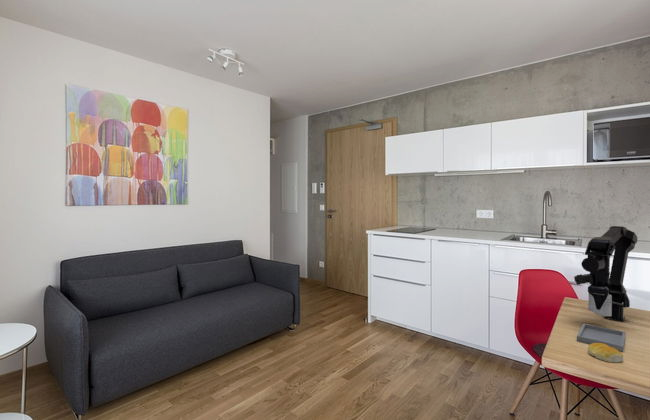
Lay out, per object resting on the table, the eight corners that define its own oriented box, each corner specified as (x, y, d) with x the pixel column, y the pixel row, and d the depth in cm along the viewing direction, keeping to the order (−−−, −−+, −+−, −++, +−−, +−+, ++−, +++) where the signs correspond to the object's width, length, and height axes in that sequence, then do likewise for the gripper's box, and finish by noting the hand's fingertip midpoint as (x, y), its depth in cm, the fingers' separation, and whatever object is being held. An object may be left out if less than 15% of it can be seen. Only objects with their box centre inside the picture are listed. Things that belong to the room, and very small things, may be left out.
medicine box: (611, 316, 131) (612, 295, 131) (599, 316, 132) (599, 294, 132) (599, 310, 139) (600, 290, 139) (587, 309, 140) (588, 289, 140)
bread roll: (604, 350, 113) (604, 339, 113) (628, 363, 104) (629, 351, 104) (580, 350, 113) (581, 339, 113) (603, 363, 104) (603, 351, 104)
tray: (583, 328, 133) (583, 323, 133) (625, 337, 124) (625, 332, 124) (576, 341, 120) (576, 335, 120) (623, 352, 112) (623, 346, 112)
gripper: (579, 263, 147) (578, 298, 148) (572, 269, 134) (571, 307, 135) (611, 267, 140) (610, 303, 140) (608, 274, 126) (607, 314, 127)
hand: (599, 307), depth 136 cm, fingers closed on medicine box, 9 cm apart
